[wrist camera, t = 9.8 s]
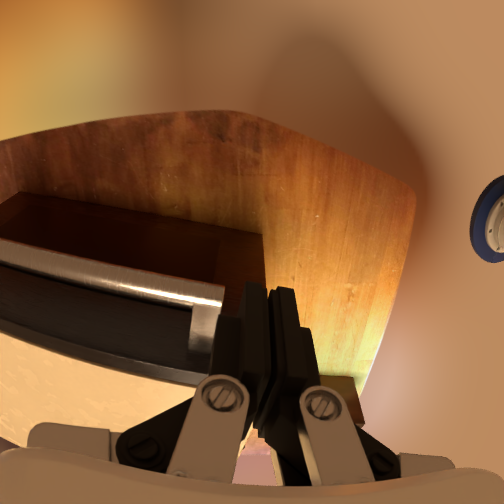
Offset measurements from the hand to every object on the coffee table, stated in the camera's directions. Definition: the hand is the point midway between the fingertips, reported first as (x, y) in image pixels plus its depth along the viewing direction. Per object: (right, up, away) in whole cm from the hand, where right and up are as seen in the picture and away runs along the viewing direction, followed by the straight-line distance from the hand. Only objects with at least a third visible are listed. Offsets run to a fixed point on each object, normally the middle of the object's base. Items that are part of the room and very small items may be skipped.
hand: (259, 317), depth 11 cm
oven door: (-18, +10, +31) cm, 37 cm away
